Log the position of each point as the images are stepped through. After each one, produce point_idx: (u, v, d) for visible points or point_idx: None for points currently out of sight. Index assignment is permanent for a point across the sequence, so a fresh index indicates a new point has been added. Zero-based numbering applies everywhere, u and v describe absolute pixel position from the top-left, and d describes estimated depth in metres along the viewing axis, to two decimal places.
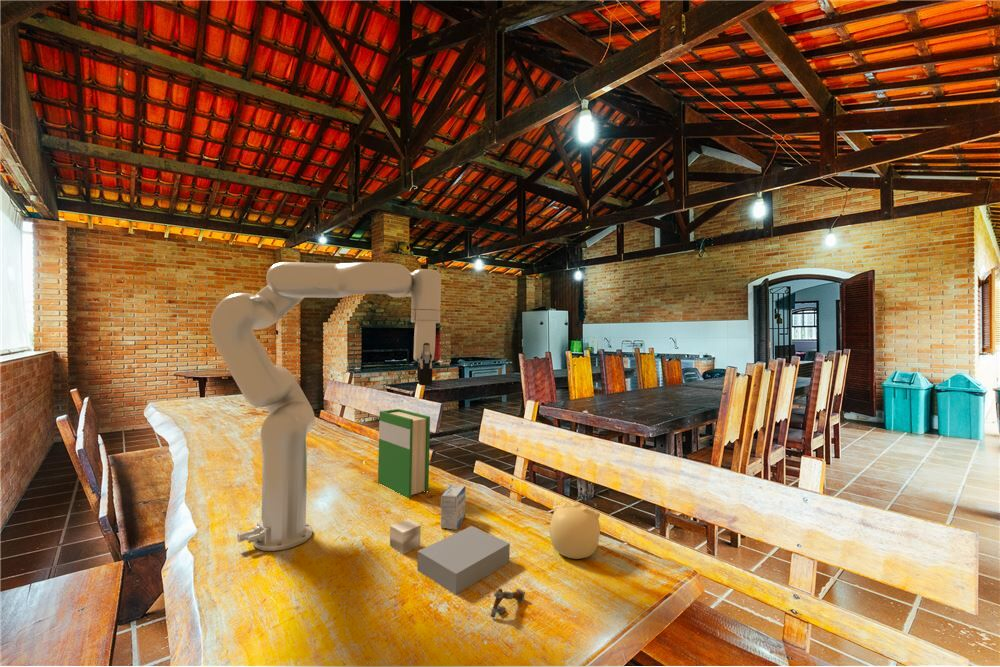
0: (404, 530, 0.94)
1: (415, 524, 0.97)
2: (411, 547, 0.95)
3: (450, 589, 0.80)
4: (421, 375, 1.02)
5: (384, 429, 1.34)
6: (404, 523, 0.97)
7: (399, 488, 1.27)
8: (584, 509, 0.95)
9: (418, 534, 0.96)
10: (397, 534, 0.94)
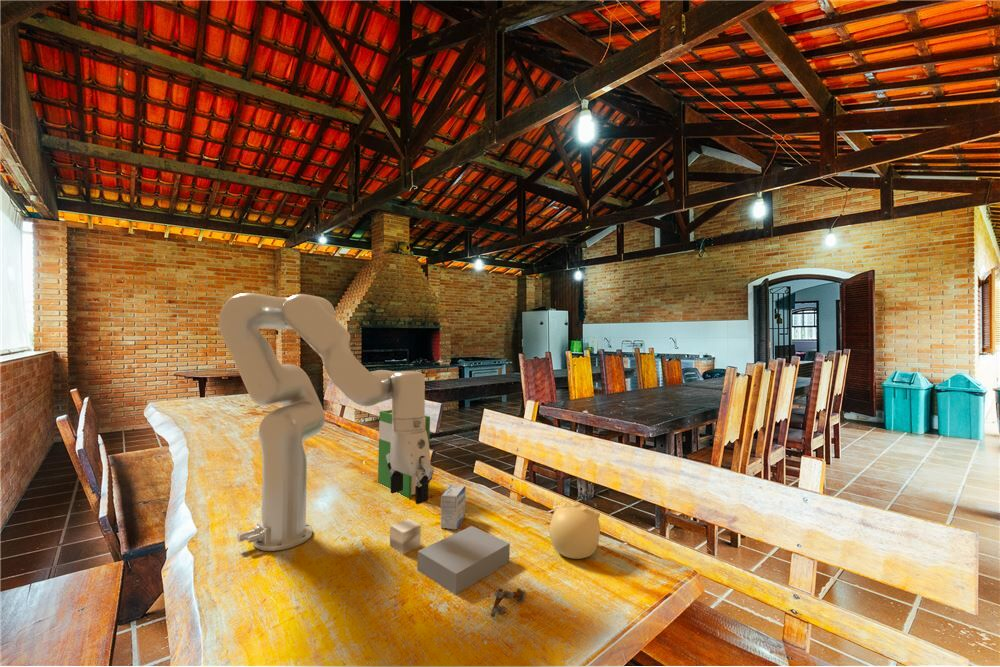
0: (404, 530, 0.94)
1: (415, 524, 0.97)
2: (411, 547, 0.95)
3: (450, 589, 0.80)
4: None
5: (384, 429, 1.34)
6: (404, 523, 0.97)
7: None
8: (584, 509, 0.95)
9: (419, 535, 0.96)
10: (397, 534, 0.94)
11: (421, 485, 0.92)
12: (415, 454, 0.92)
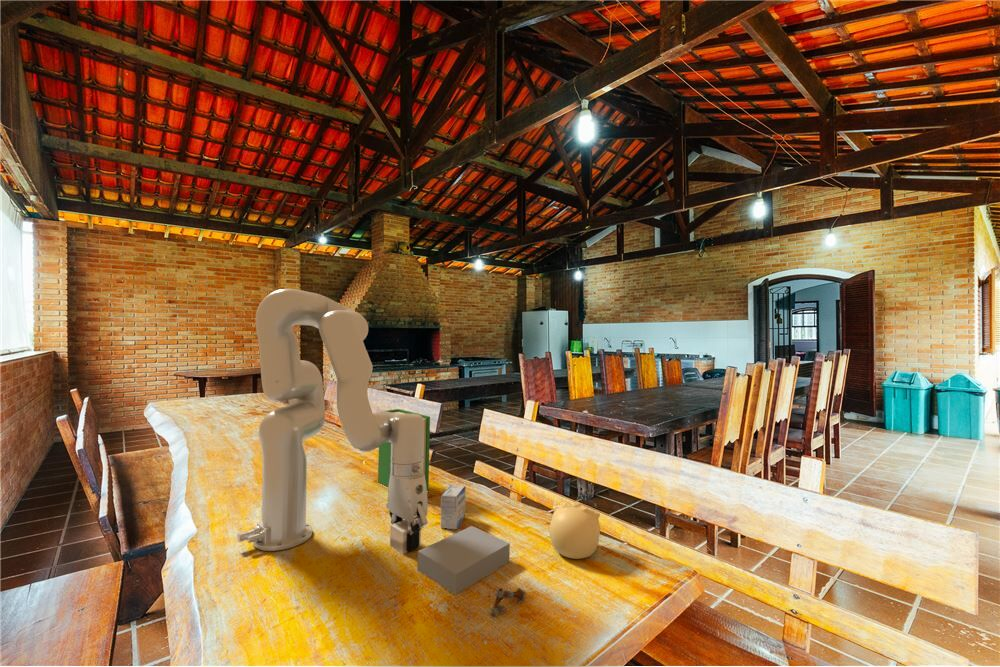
0: (404, 530, 0.94)
1: None
2: None
3: (450, 589, 0.80)
4: None
5: None
6: (404, 523, 0.97)
7: None
8: (584, 509, 0.95)
9: (419, 534, 0.96)
10: (397, 534, 0.94)
11: (412, 533, 0.93)
12: (413, 500, 0.92)
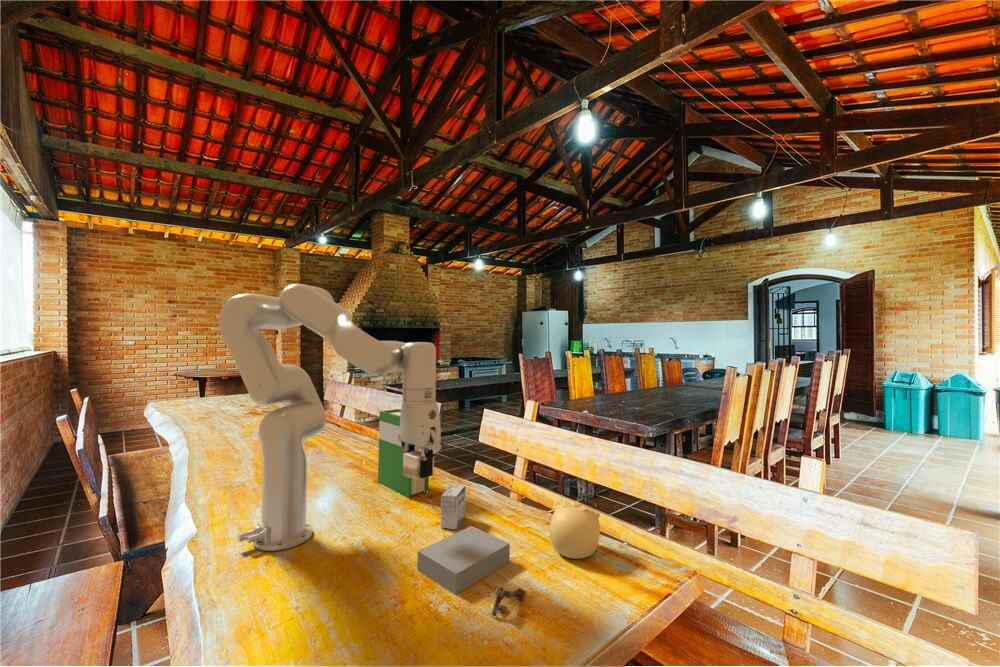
0: (417, 456, 0.92)
1: None
2: None
3: (450, 589, 0.80)
4: None
5: (384, 429, 1.34)
6: (417, 452, 0.96)
7: (399, 488, 1.27)
8: (584, 509, 0.95)
9: None
10: (410, 461, 0.93)
11: (426, 459, 0.92)
12: (426, 425, 0.91)
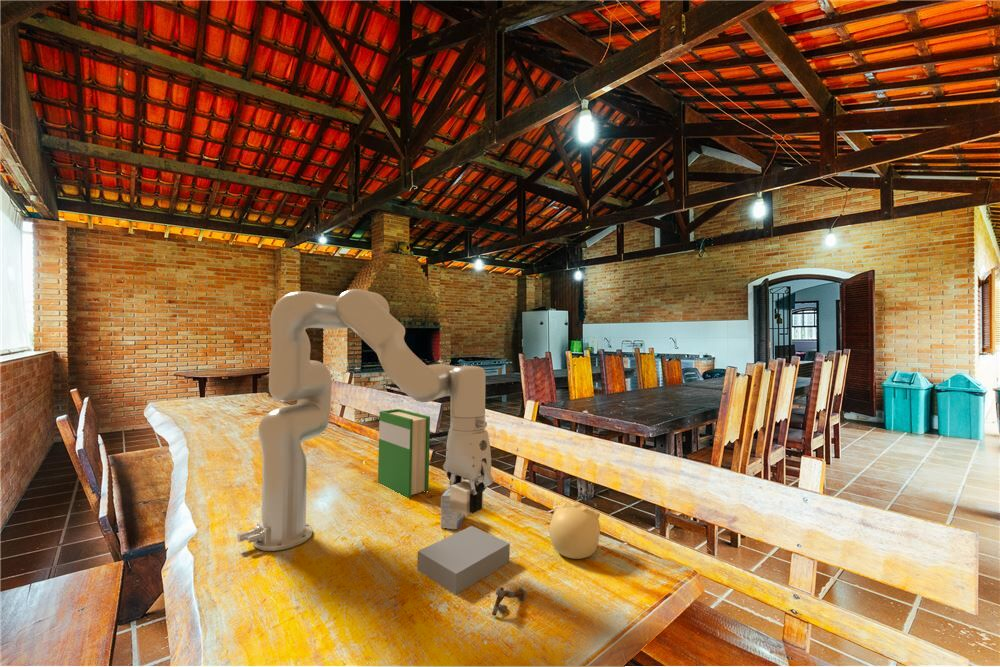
0: (467, 489, 0.86)
1: (477, 484, 0.89)
2: None
3: (450, 589, 0.80)
4: None
5: (384, 429, 1.34)
6: (465, 484, 0.90)
7: (399, 488, 1.27)
8: (584, 509, 0.95)
9: None
10: (459, 494, 0.87)
11: (476, 493, 0.85)
12: (477, 456, 0.84)
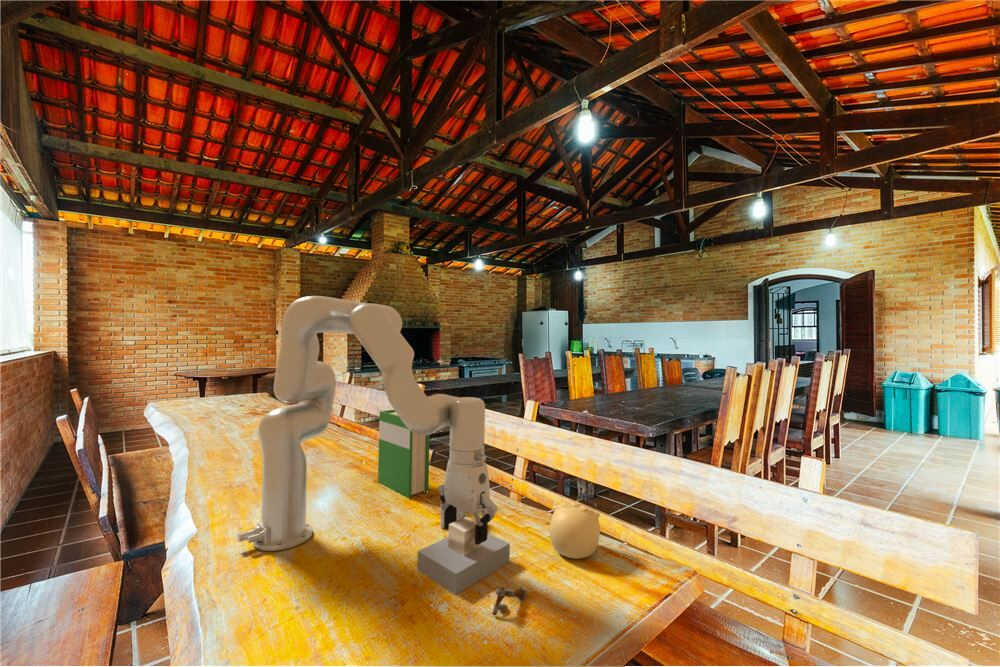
0: (465, 529, 0.86)
1: (475, 523, 0.89)
2: (472, 548, 0.87)
3: (450, 589, 0.80)
4: None
5: (384, 429, 1.34)
6: (463, 522, 0.90)
7: (399, 488, 1.27)
8: (584, 509, 0.95)
9: None
10: (457, 533, 0.87)
11: (482, 524, 0.84)
12: (476, 490, 0.84)
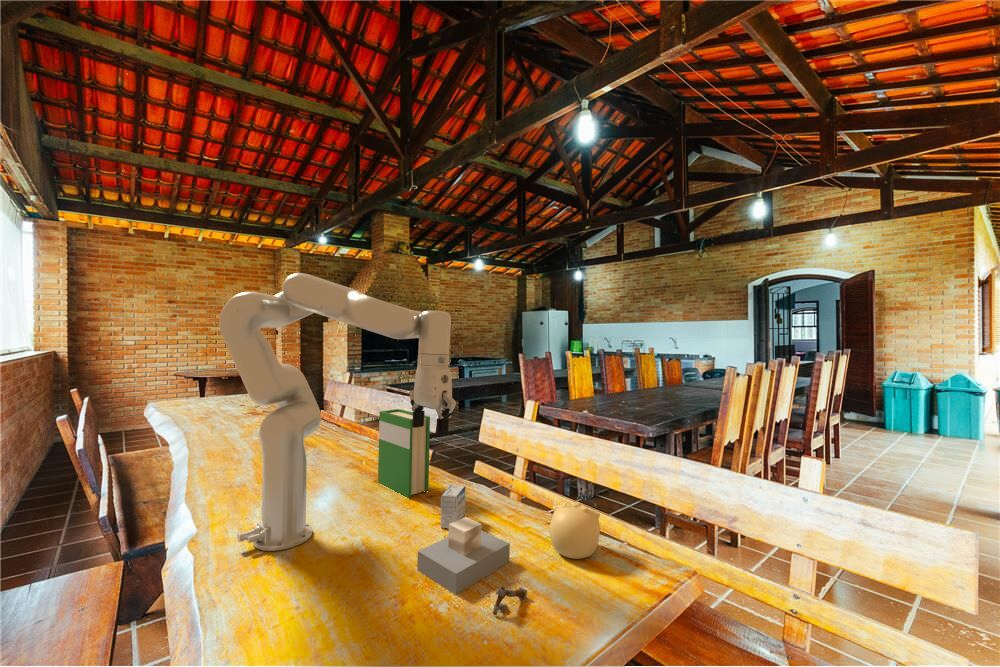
0: (465, 529, 0.86)
1: (475, 523, 0.89)
2: (472, 548, 0.87)
3: (450, 589, 0.80)
4: None
5: (384, 429, 1.34)
6: (463, 522, 0.90)
7: (399, 488, 1.27)
8: (584, 509, 0.95)
9: (479, 534, 0.89)
10: (457, 533, 0.87)
11: (442, 417, 0.96)
12: (438, 388, 0.96)
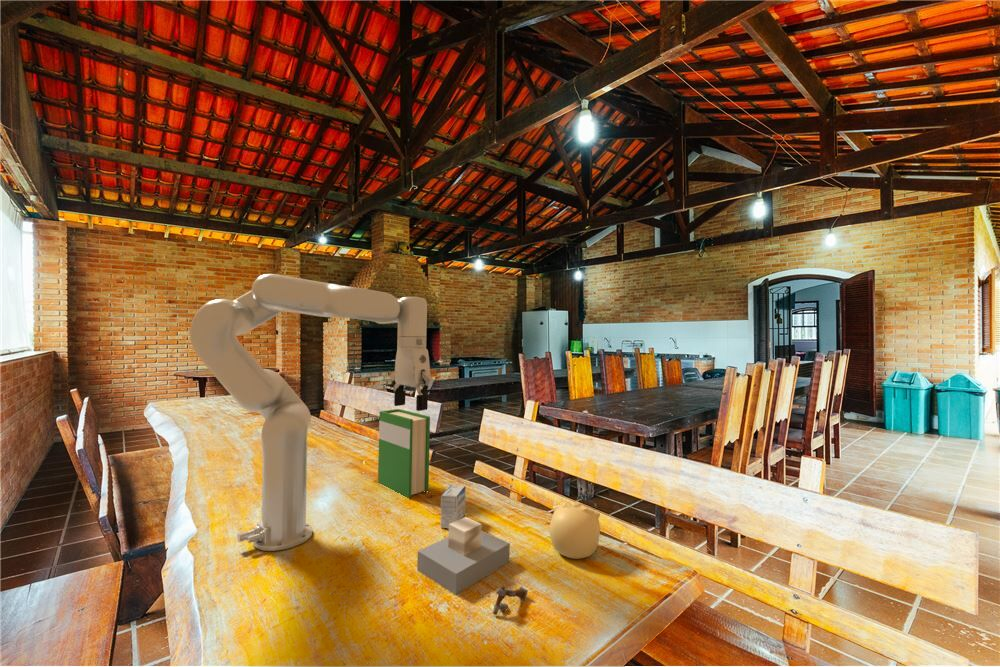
0: (465, 529, 0.86)
1: (475, 523, 0.89)
2: (472, 548, 0.87)
3: (450, 589, 0.80)
4: None
5: (384, 429, 1.34)
6: (463, 522, 0.90)
7: (399, 488, 1.27)
8: (584, 509, 0.95)
9: (479, 534, 0.89)
10: (457, 533, 0.87)
11: (422, 394, 1.04)
12: (417, 367, 1.05)
